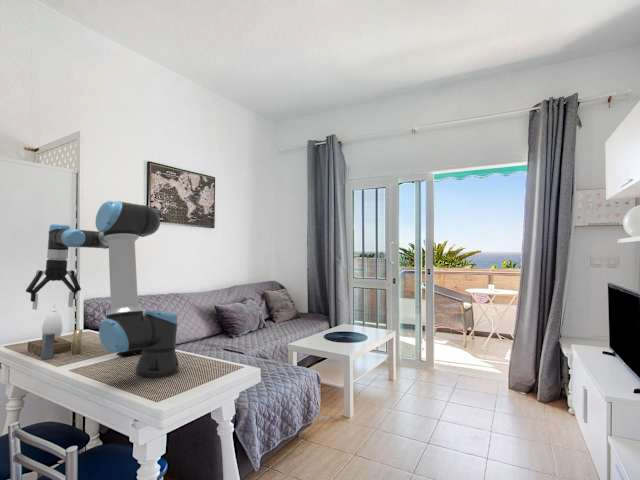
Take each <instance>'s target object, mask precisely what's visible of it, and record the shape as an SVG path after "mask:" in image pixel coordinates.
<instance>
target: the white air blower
mask: <svg viewBox="0 0 640 480" xmlns="http://www.w3.org/2000/svg"><path fill="white" fill-rule="evenodd" d="M41 331H42V333H41V334H42V335H43V334H45V333H54V334H55V338H61V335H62V334H63V333H62V332H63V320H62V317H61V315H60V313H59V312H58V309H57V308H56V304H53V308H52V309H51V310H50V312H49V313H47V315H46V317H45V318H44V320H43V324H42V327H41Z"/></svg>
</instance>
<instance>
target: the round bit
mask: <svg viewBox="0 0 640 480" xmlns="http://www.w3.org/2000/svg"><path fill="white" fill-rule="evenodd" d="M72 333H73V334H72V335H73V337H72V345H71V355H72V356H73V355H74V356H75V355H80V354H81V351H82V342H83V329H74V330H73V332H72Z"/></svg>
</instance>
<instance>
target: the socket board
mask: <svg viewBox="0 0 640 480" xmlns="http://www.w3.org/2000/svg"><path fill="white" fill-rule="evenodd" d="M72 345H73V341H72V342H71V341H69V340H67V339H64V338H61V337H59V338H55V339H54V350H53V355H56V354H64V353H70V352H71V353H72ZM41 346H42V339H40V340H34V341H33V340H31V341H28V342H27V352H28V351H29V352H28V353H30V352H31V353H30V354H32V353H33V354H32V355H34V354H35V355H34V356H36V355H37V356H36V357H41Z"/></svg>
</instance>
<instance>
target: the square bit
mask: <svg viewBox="0 0 640 480" xmlns="http://www.w3.org/2000/svg"><path fill="white" fill-rule="evenodd" d="M54 339H55V334H54V333H45V334H42V336H41V340H42V346H41V356H39V357H40V358H41V360H42V359H43V361H47V360H52V359H53V358H54V354H53V350H54Z"/></svg>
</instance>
